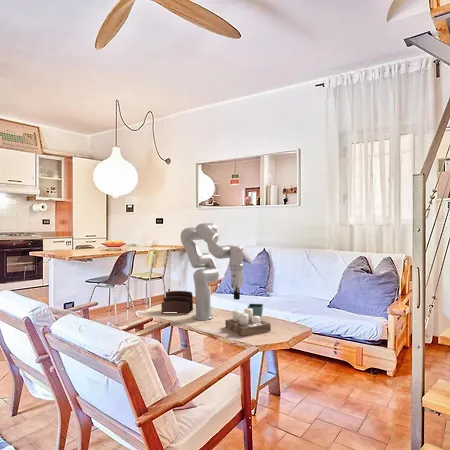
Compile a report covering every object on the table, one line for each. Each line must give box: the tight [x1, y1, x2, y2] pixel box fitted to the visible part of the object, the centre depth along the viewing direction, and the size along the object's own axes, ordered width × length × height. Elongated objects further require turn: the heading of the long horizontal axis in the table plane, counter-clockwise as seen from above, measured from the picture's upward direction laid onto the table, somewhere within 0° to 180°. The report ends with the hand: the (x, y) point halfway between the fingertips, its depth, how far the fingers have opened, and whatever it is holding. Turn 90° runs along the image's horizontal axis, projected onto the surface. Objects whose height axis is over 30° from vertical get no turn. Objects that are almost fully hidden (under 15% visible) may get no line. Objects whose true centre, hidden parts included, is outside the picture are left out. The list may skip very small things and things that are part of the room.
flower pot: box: [247, 303, 264, 320], centre depth 217 cm, size 9×9×9 cm
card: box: [248, 323, 262, 327], centre depth 192 cm, size 4×7×1 cm, turn 117°
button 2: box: [239, 312, 249, 327], centre depth 195 cm, size 5×5×6 cm
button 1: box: [232, 310, 242, 323], centre depth 202 cm, size 5×5×6 cm
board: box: [224, 318, 272, 337], centre depth 199 cm, size 20×18×4 cm
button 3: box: [243, 307, 253, 321], centre depth 205 cm, size 5×5×6 cm
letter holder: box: [161, 290, 194, 314], centre depth 241 cm, size 10×20×14 cm, turn 80°
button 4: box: [252, 316, 261, 324], centre depth 198 cm, size 5×5×6 cm
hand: (236, 299), depth 202 cm, fingers closed
